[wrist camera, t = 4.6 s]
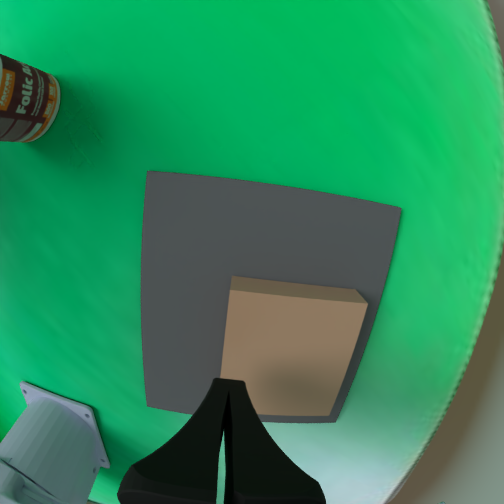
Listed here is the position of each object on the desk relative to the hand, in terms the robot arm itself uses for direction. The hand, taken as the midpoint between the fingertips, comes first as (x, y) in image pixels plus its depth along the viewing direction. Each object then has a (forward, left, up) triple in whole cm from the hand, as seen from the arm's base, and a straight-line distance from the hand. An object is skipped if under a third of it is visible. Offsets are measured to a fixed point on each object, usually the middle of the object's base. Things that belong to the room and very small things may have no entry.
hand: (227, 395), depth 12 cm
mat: (+1, -1, -5) cm, 6 cm away
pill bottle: (+13, +15, -6) cm, 20 cm away
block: (0, 0, -4) cm, 4 cm away
